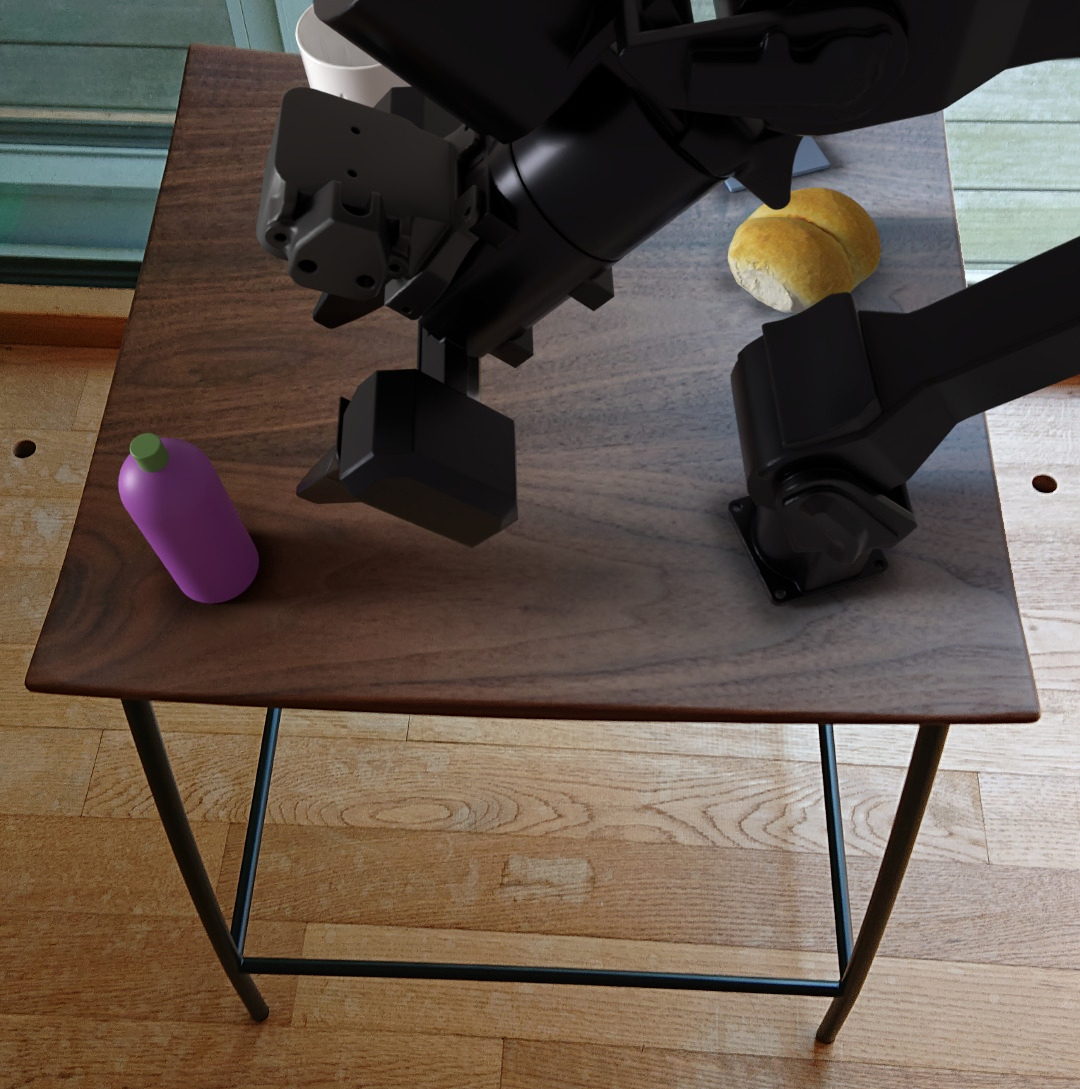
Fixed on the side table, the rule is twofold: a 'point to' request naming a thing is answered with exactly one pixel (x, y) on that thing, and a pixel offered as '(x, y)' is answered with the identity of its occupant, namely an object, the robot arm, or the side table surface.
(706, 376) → the side table surface
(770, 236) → the bread roll
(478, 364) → the robot arm
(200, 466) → the eggplant
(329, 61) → the white cup
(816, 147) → the blue-grey square tile
